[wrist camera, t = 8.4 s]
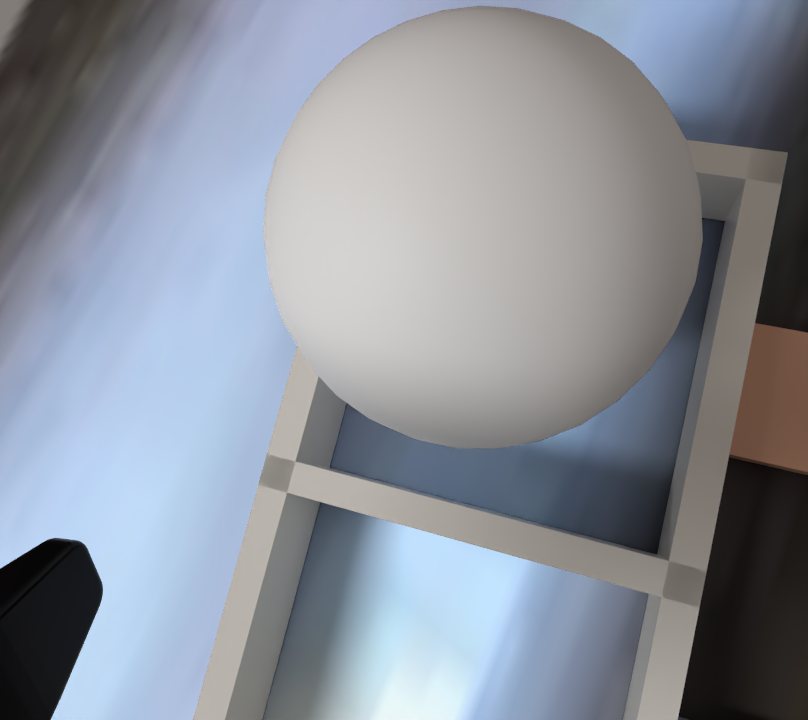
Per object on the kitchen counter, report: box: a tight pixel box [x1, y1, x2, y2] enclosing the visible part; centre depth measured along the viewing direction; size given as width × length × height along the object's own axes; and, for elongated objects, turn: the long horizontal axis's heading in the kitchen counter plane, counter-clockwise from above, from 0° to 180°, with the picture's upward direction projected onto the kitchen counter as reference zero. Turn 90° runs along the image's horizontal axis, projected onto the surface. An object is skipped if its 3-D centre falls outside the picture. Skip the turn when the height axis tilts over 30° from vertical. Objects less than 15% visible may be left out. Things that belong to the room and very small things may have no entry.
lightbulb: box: [263, 6, 703, 449], centre depth 13 cm, size 6×6×11 cm
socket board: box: [193, 140, 808, 720], centre depth 17 cm, size 18×13×2 cm
